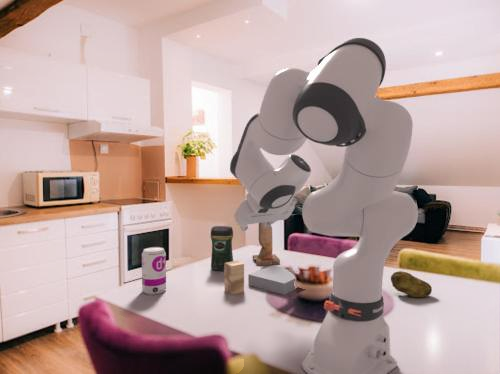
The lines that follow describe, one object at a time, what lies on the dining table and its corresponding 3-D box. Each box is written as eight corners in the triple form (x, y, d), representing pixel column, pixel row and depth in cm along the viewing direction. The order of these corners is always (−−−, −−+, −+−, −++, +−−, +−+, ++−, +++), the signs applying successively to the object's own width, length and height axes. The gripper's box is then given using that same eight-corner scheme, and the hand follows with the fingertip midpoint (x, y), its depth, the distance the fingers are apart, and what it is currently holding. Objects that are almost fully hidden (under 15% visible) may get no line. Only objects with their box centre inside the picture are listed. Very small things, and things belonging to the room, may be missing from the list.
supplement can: (170, 290, 125) (170, 249, 124) (150, 297, 119) (149, 253, 118) (158, 285, 131) (157, 245, 130) (137, 291, 125) (137, 249, 124)
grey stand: (284, 294, 121) (284, 283, 121) (248, 284, 132) (248, 274, 131) (307, 282, 134) (307, 272, 134) (273, 274, 144) (273, 265, 144)
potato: (431, 302, 115) (432, 278, 114) (389, 296, 120) (390, 273, 120) (431, 294, 122) (432, 271, 122) (391, 288, 128) (392, 267, 127)
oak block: (244, 291, 125) (244, 263, 124) (232, 294, 122) (232, 266, 121) (236, 287, 129) (236, 260, 128) (224, 290, 126) (224, 262, 125)
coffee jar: (235, 266, 155) (235, 225, 154) (230, 272, 147) (230, 228, 146) (214, 265, 157) (213, 224, 156) (208, 270, 149) (208, 227, 148)
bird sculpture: (250, 260, 168) (248, 193, 165) (274, 257, 170) (272, 192, 168) (256, 266, 157) (255, 195, 154) (281, 264, 160) (280, 194, 157)
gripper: (294, 190, 113) (274, 216, 122) (242, 193, 101) (224, 222, 109) (304, 205, 110) (283, 231, 118) (252, 210, 98) (232, 239, 106)
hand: (254, 227), depth 114 cm, fingers open, 8 cm apart
